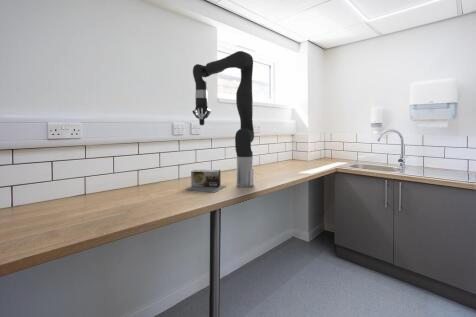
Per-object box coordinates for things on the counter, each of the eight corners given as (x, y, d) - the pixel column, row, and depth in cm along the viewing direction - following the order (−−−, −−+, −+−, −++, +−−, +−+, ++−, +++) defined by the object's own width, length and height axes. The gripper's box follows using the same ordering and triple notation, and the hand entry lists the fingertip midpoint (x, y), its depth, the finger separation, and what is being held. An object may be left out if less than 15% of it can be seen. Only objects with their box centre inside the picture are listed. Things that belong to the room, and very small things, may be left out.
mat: (226, 186, 151) (226, 185, 151) (214, 192, 137) (214, 192, 137) (199, 184, 158) (199, 183, 157) (185, 189, 144) (185, 189, 144)
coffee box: (193, 184, 155) (220, 185, 154) (191, 186, 149) (219, 187, 148) (193, 169, 154) (220, 169, 153) (190, 171, 148) (219, 171, 147)
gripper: (213, 98, 167) (213, 125, 170) (195, 98, 172) (195, 125, 174) (208, 96, 160) (208, 125, 163) (189, 97, 165) (189, 125, 167)
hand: (201, 125), depth 168 cm, fingers closed
